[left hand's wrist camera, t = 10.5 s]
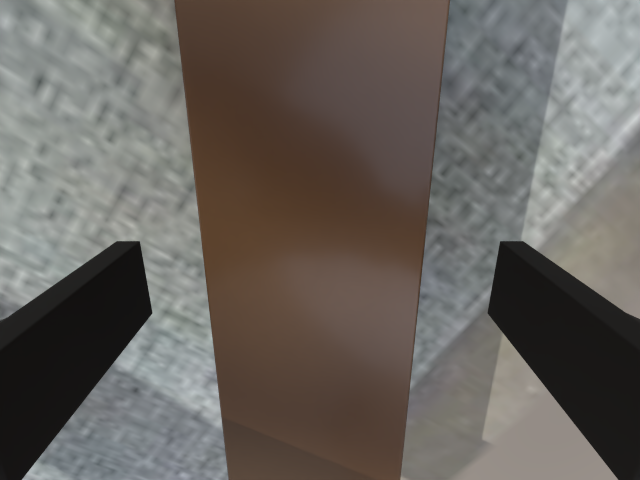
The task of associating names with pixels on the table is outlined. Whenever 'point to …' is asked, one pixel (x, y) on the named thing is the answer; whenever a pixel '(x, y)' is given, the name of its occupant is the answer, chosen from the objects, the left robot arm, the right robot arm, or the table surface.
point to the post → (313, 221)
